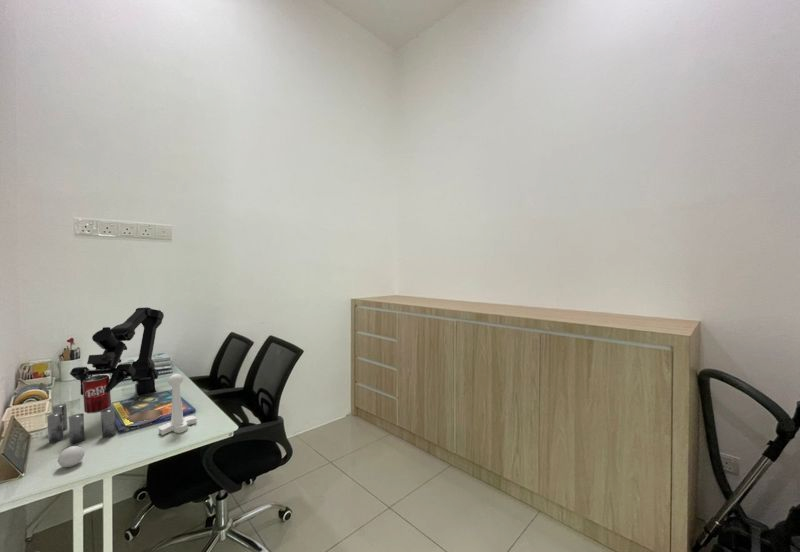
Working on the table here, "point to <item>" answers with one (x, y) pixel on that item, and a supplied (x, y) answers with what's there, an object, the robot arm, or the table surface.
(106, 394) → the soda can
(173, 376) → the joystick
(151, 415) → the walnut pad
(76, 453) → the white egg
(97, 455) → the table surface
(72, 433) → the posts
